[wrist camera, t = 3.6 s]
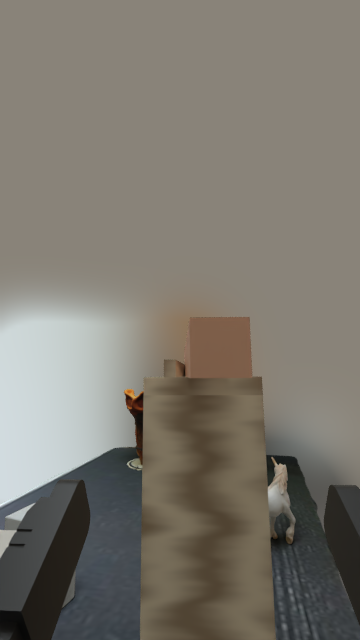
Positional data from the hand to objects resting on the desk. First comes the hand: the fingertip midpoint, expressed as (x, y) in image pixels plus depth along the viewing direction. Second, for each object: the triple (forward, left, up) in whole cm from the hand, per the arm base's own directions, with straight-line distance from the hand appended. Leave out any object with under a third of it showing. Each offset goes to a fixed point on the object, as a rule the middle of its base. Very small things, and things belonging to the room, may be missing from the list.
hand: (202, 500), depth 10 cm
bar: (0, +19, +4) cm, 19 cm away
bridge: (0, +23, -28) cm, 36 cm away
